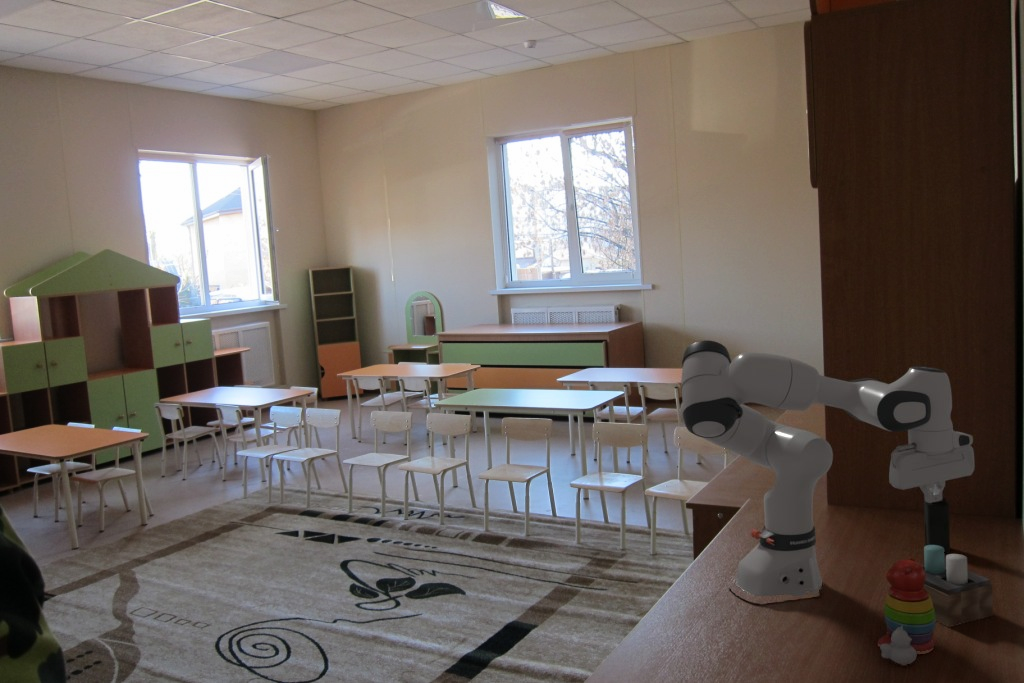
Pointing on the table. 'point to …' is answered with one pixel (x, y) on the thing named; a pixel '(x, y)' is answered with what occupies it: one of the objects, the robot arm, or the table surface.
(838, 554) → the table surface
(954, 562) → the grey peg
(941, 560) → the teal peg
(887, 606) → the stacking bear
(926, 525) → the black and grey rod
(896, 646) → the rubber duck
